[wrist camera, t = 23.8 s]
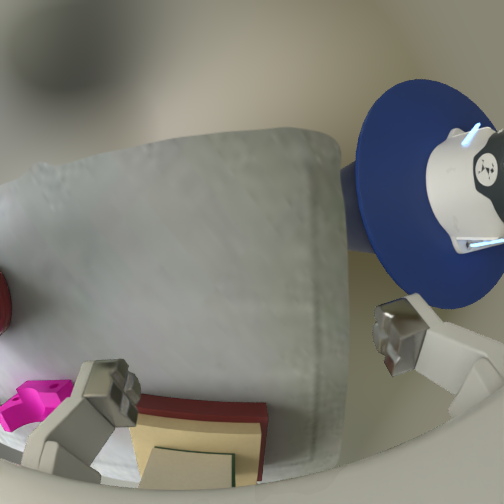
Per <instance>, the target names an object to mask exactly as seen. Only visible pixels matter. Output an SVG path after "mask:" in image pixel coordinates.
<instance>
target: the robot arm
mask: <svg viewBox="0 0 504 504" xmlns="http://www.w3.org/2000/svg"><path fill="white" fill-rule="evenodd" d="M479 126H480V123H478V124H476V125H475V126H474V128H473V129H472V130H471V131H469V132H466V133H465V132H464V131H462V130H461V129H459V128H455V129H452V130H451V131H450V133H449V135H448V137H447V139H446V140H445V141H444V142H443V143H441V144H439V145H438V146H437V147H436V148H435V149H434V150H433V151H432V153H431V155H430V157H429V160H428V164H427V169H426V188H427V194H428V199H429V202H430V205H431V208H432V211H433V213H434V215H435V217H436V219H437V220H438V222H439V223H440V225H441V226H442V227H443V228H444V229H445V231H446V232H447V233H448V234H449V236H450V238H451V241H452V243H453V246H454V248H455V250H456V252H457V253H458V254H464V253H469V252H473V251H477V250H481V249H484V248H488V247H492V246H496V245H500V244H504V129H501V130H500V131H498V132H496V131H494V130H492V129H491V128H490V127H484V128H480V129H478V127H479ZM466 243H467V246H466ZM374 317H375V319H376V320H377V321H376V322H375V324H374V325H373V329H372V336H373V342H374V344H375V346H376V349H377V351H378V353H381V354H382V355H385V360H384V363H385V365H386V367H387V369H388V370H389V372H390V374H391V376H392V377H394V376H397V375H399V374H402V373H405V372H407V371H410V370H412V369H415V370H416V371H417V372H419V373H420V374H422V375H423V376H425V377H427V378H428V379H430V380H431V381H433V382H435V383H436V384H438V385H440V386H441V387H443V388H444V389H446V390H448V391H449V392H451V393H452V394H454V395H456V396H455V398H454V400H453V401H452V403H451V405H450V406H449V409H448V412H449V413H450V415H451V417H452V419H451V420H449V421H447V422H445V423H443V424H442V425H440V426H438V427H436V428H434V429H432V430H430V431H428V432H426V433H424V434H422V435H420V436H418V437H416V438H413V439H411V440H409V441H407V442H404V443H402V444H400V445H397V446H395V447H393V448H390V449H388V450H385V451H383V452H380V453H377V454H375V455H372V456H369V457H367V458H363V459H361V460H358V461H355V462H352V463H348V464H345V465H342V466H339V467H335V468H332V469H328V470H324V471H321V472H317V473H313V474H309V475H304V476H300V477H295V478H290V479H285V480H280V481H274V482H269V483H262V484H255V485H248V486H239V487H229V488H217V489H199V490H158V489H140V488H128V487H118V486H109V485H102V484H100V481H101V475H100V473H99V472H98V471H96V470H95V469H93V468H92V467H90V465H91V463H92V462H93V460H94V459H95V457H96V456H97V455H98V453H99V452H100V450H101V449H102V447H103V446H104V444H105V443H106V442H107V440H108V439H109V437H110V436H111V434H112V433H113V431H114V430H115V427H136V424H137V418H138V409H137V407H136V404H137V403H138V402H139V401H140V398H141V387H140V383H139V381H138V378H137V377H136V376H135V374H133V373H131V372H130V371H128V367H129V365H128V364H127V363H126V361H125V360H124V359H109V360H96V361H85V362H84V363H82V365H81V368H80V371H79V373H78V376H77V379H76V382H75V385H74V387H73V390H72V393H71V396H70V397H67V398H66V399H65V400H64V401H63V402H62V403H61V404H60V405H59V406H58V407H57V408H56V409H55V410H54V411H53V412H52V413H51V414H50V415H49V416H48V417H47V418H46V419H45V420H44V421H43V422H42V423H41V424H40V425H39V426H38V427H37V428H36V429H35V430H34V431H33V432H32V433H31V434H30V435H29V436H28V439H27V443H26V446H25V449H24V453H23V456H22V460H21V464H20V465H18V464H15V463H12V462H10V461H7V460H4V459H1V458H0V504H504V344H503V343H501V342H498V341H496V340H494V339H491V338H488V337H486V336H483V335H481V334H478V333H476V332H473V331H471V330H468V329H465V328H463V327H460V326H458V325H455V324H453V323H450V322H443V321H442V320H441V319H440V318H439V317H438V315H437V314H436V313H435V312H434V311H433V309H432V308H431V307H430V306H429V305H428V304H427V303H426V301H425V300H424V299H423V298H422V297H421V296H420V295H419V294H417V293H414V294H411V295H408V296H405V297H403V298H400V299H397V300H394V301H391V302H388V303H384V304H381V305H378V306H376V308H375V310H374Z"/></svg>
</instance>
